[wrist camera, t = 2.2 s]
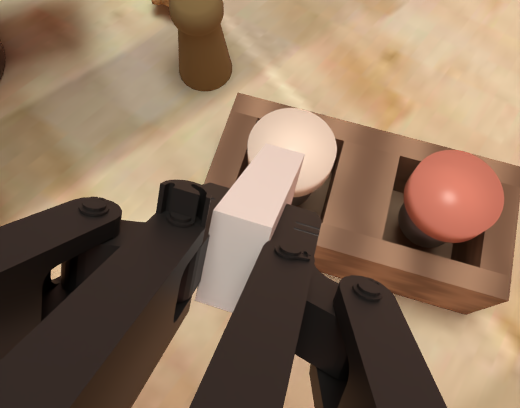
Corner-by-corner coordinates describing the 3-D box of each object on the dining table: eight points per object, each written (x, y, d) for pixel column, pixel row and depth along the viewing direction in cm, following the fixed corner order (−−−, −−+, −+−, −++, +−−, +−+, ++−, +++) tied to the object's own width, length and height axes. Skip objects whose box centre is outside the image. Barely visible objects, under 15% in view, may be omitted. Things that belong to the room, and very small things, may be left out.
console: (203, 237, 47) (194, 210, 39) (240, 135, 51) (237, 92, 43) (465, 314, 44) (508, 300, 37) (481, 200, 48) (523, 167, 41)
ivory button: (238, 205, 43) (235, 173, 36) (260, 139, 45) (261, 98, 38) (313, 227, 42) (324, 198, 35) (332, 159, 44) (345, 120, 38)
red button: (380, 245, 41) (403, 220, 35) (395, 176, 44) (419, 140, 37) (459, 268, 41) (498, 246, 34) (470, 196, 43) (508, 163, 37)
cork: (206, 38, 55) (195, -41, 45) (243, 68, 54) (240, -6, 44) (168, 69, 54) (147, -5, 43) (205, 100, 52) (193, 31, 42)
